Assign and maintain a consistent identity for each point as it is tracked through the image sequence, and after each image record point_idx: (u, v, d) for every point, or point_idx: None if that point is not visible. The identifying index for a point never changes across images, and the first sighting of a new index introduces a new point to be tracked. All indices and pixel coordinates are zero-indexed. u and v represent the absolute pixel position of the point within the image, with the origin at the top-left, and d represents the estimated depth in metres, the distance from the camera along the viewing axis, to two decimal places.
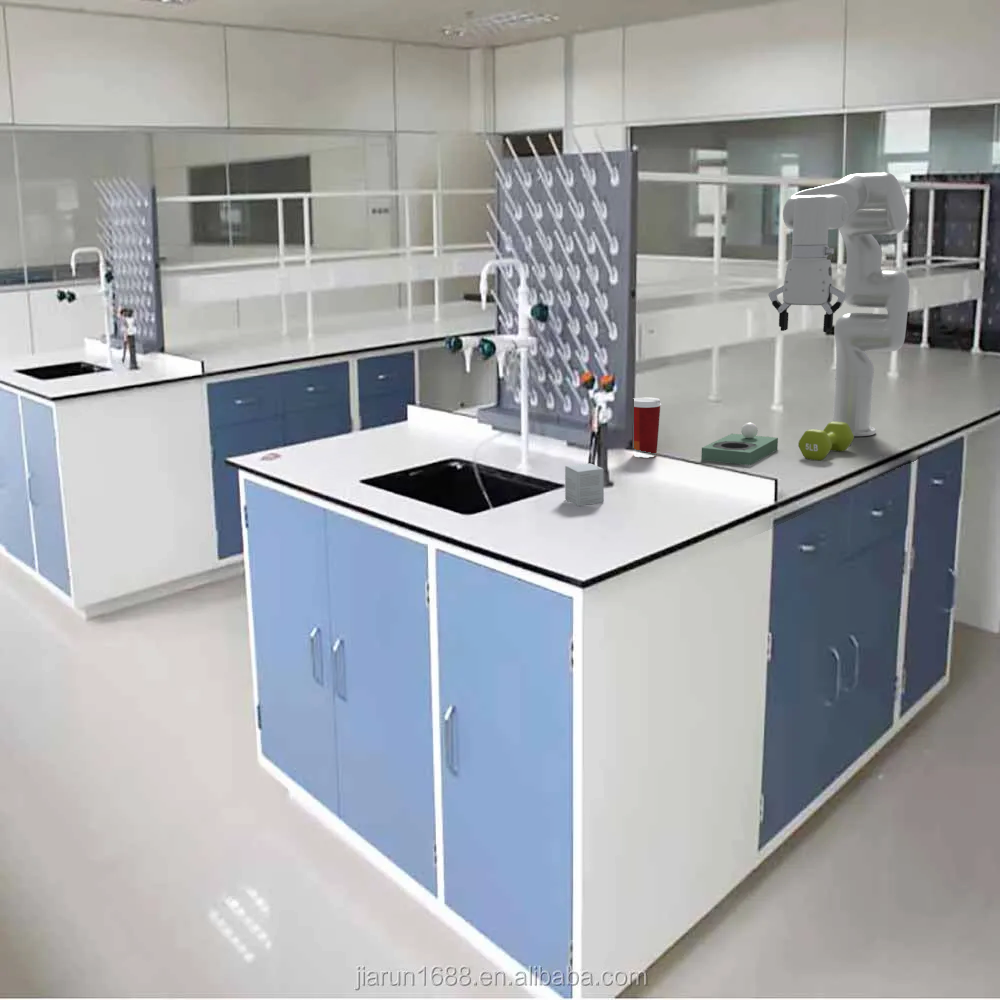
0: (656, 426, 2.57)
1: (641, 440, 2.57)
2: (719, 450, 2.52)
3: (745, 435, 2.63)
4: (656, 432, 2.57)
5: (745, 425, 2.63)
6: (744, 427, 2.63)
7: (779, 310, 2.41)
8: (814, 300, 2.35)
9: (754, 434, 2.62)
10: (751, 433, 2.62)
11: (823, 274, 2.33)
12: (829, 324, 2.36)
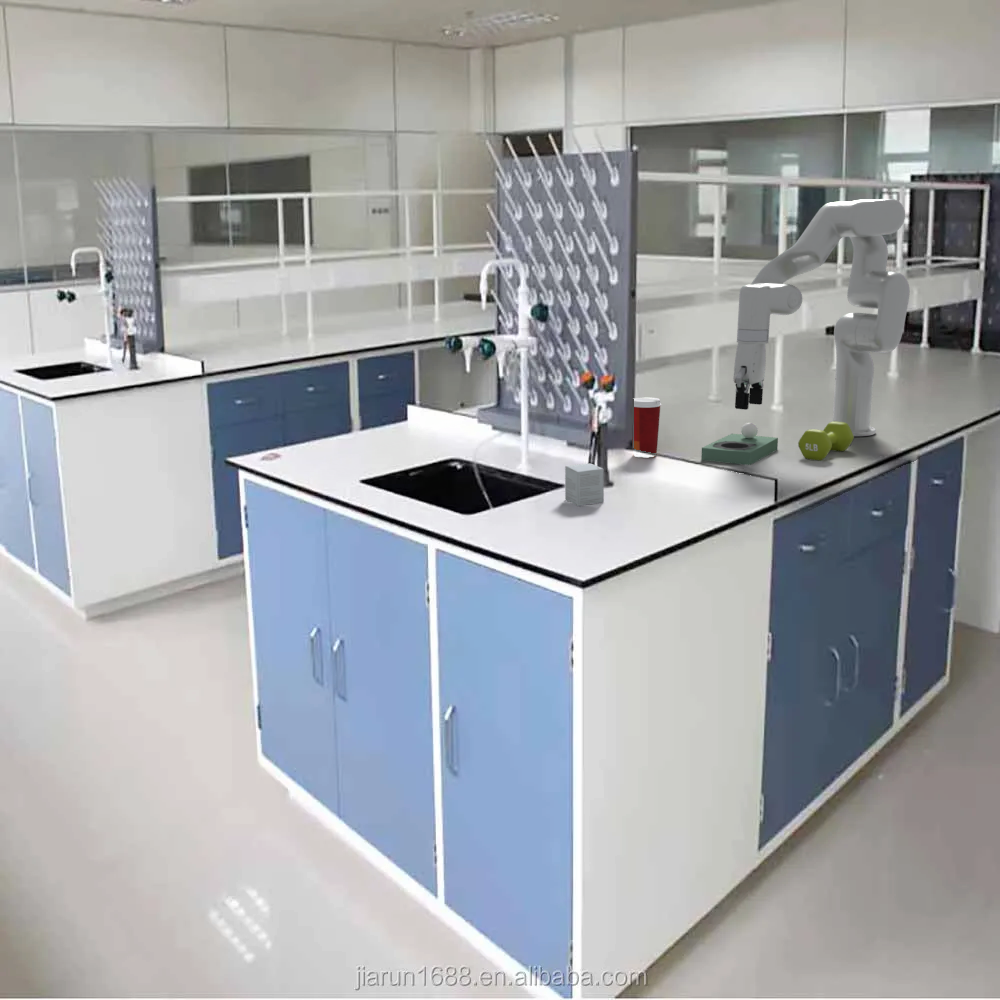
0: (656, 426, 2.57)
1: (641, 440, 2.57)
2: (719, 450, 2.52)
3: (745, 435, 2.63)
4: (656, 432, 2.57)
5: (745, 425, 2.63)
6: (744, 427, 2.63)
7: (746, 391, 2.55)
8: (761, 377, 2.61)
9: (754, 434, 2.62)
10: (751, 433, 2.62)
11: (765, 353, 2.61)
12: None
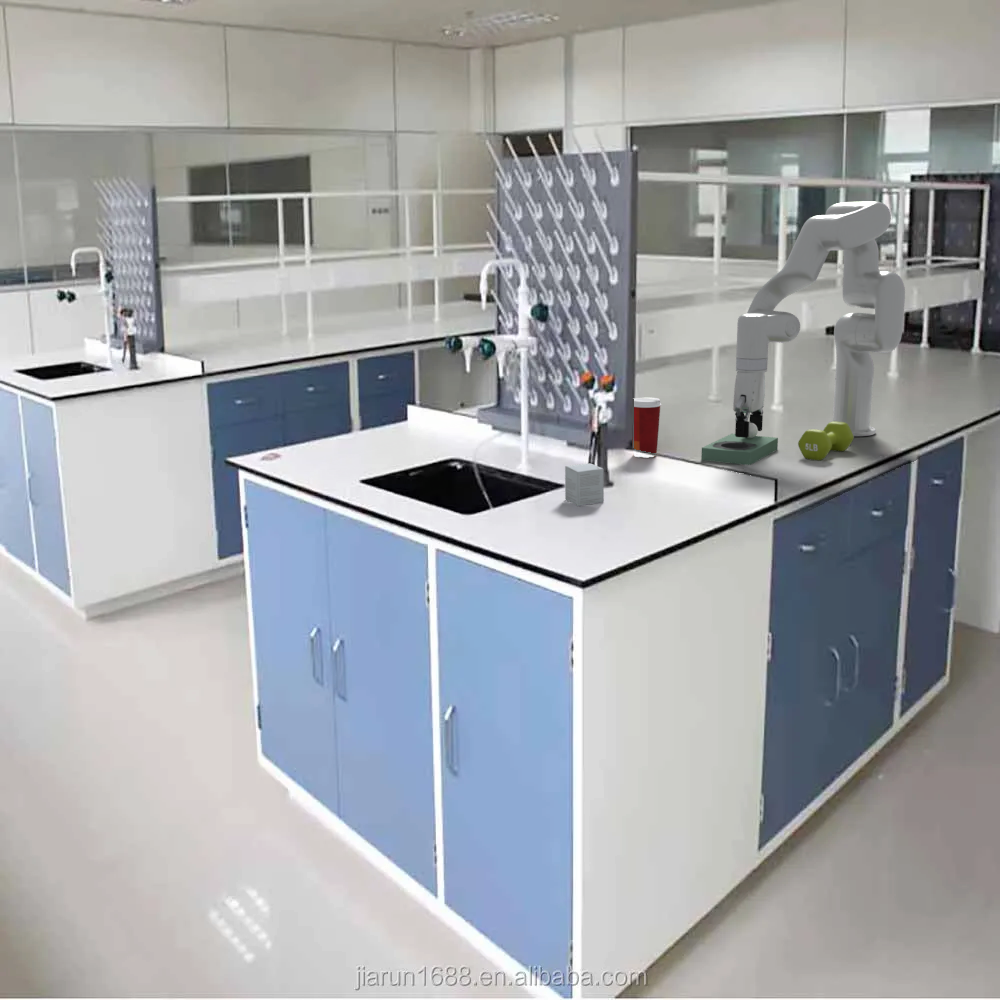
0: (656, 426, 2.57)
1: (641, 440, 2.57)
2: (719, 450, 2.52)
3: None
4: (656, 432, 2.57)
5: None
6: None
7: (746, 419, 2.57)
8: (761, 404, 2.63)
9: (754, 434, 2.62)
10: (751, 433, 2.62)
11: (764, 381, 2.62)
12: None
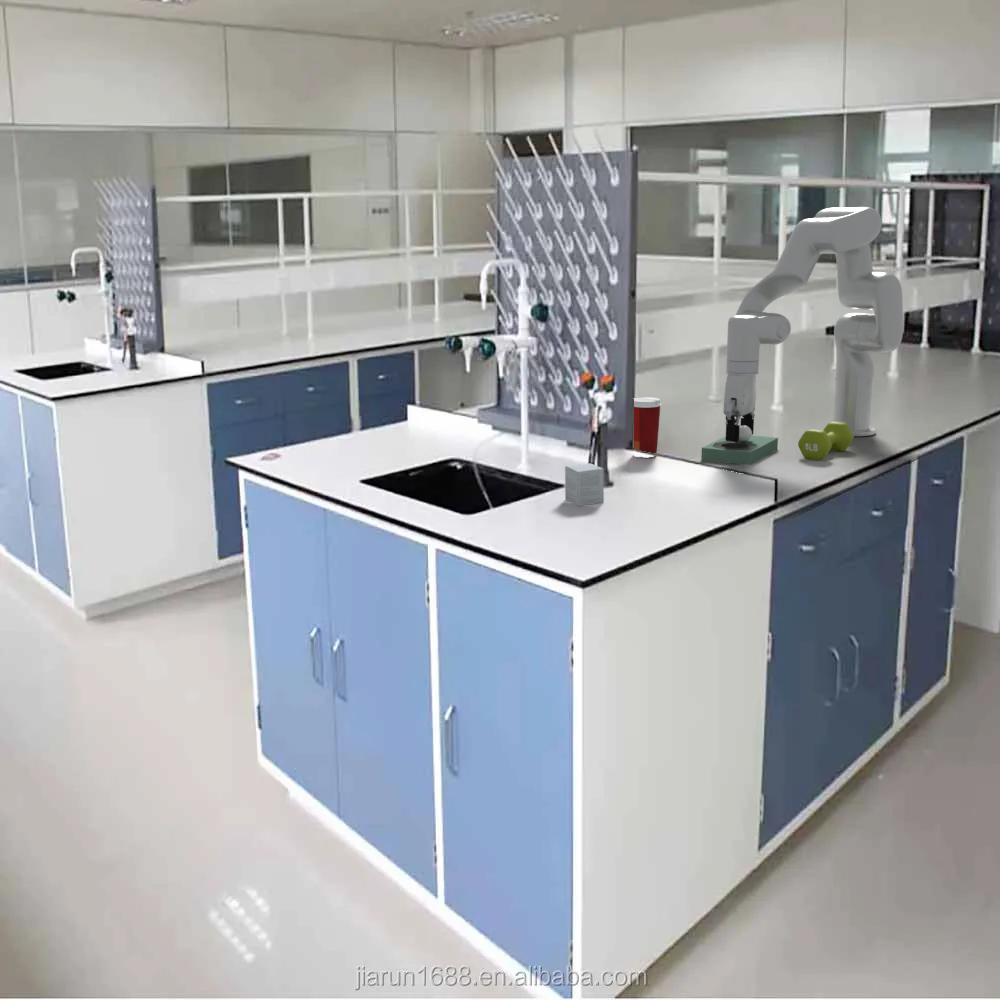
0: (656, 426, 2.57)
1: (641, 440, 2.57)
2: (719, 450, 2.52)
3: None
4: (656, 432, 2.57)
5: (739, 440, 2.60)
6: None
7: (736, 423, 2.52)
8: (752, 408, 2.57)
9: None
10: None
11: (755, 384, 2.57)
12: None
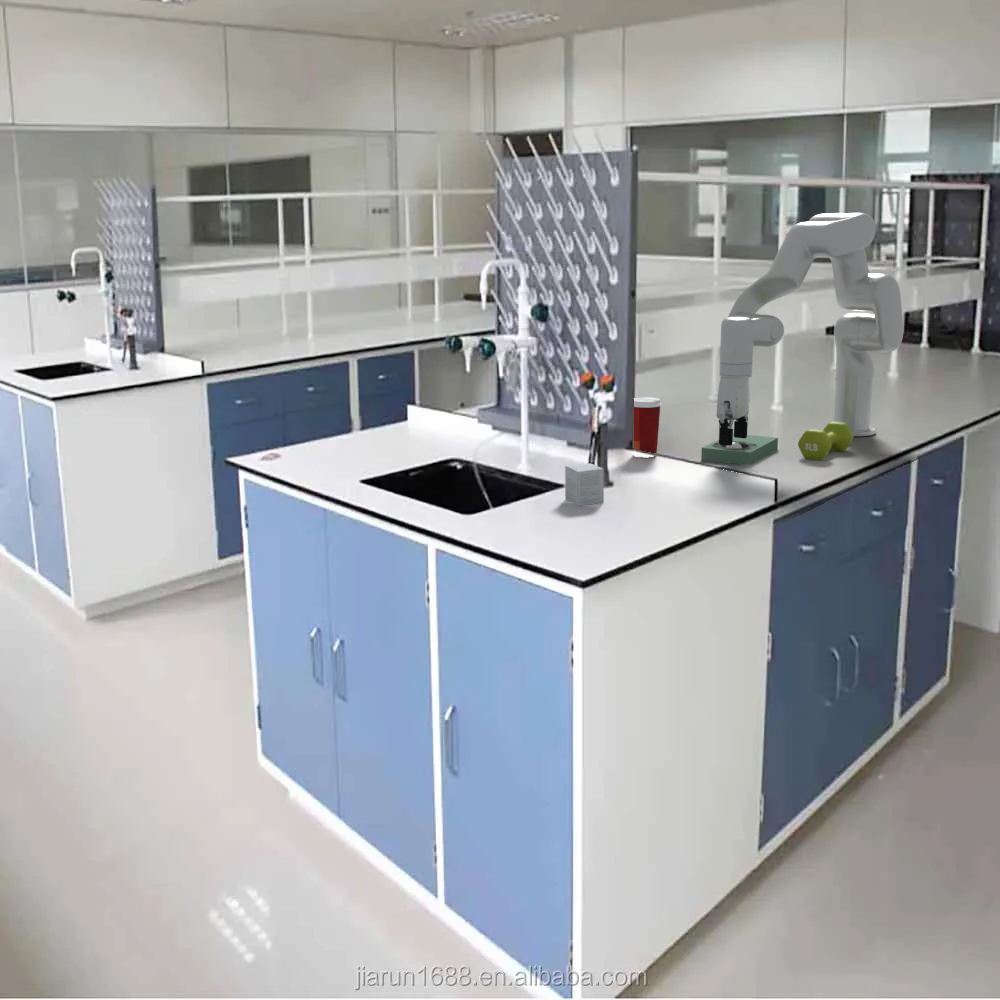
0: (656, 426, 2.57)
1: (641, 440, 2.57)
2: (719, 450, 2.52)
3: None
4: (656, 432, 2.57)
5: None
6: None
7: (729, 427, 2.48)
8: (746, 411, 2.54)
9: None
10: None
11: (749, 386, 2.54)
12: None
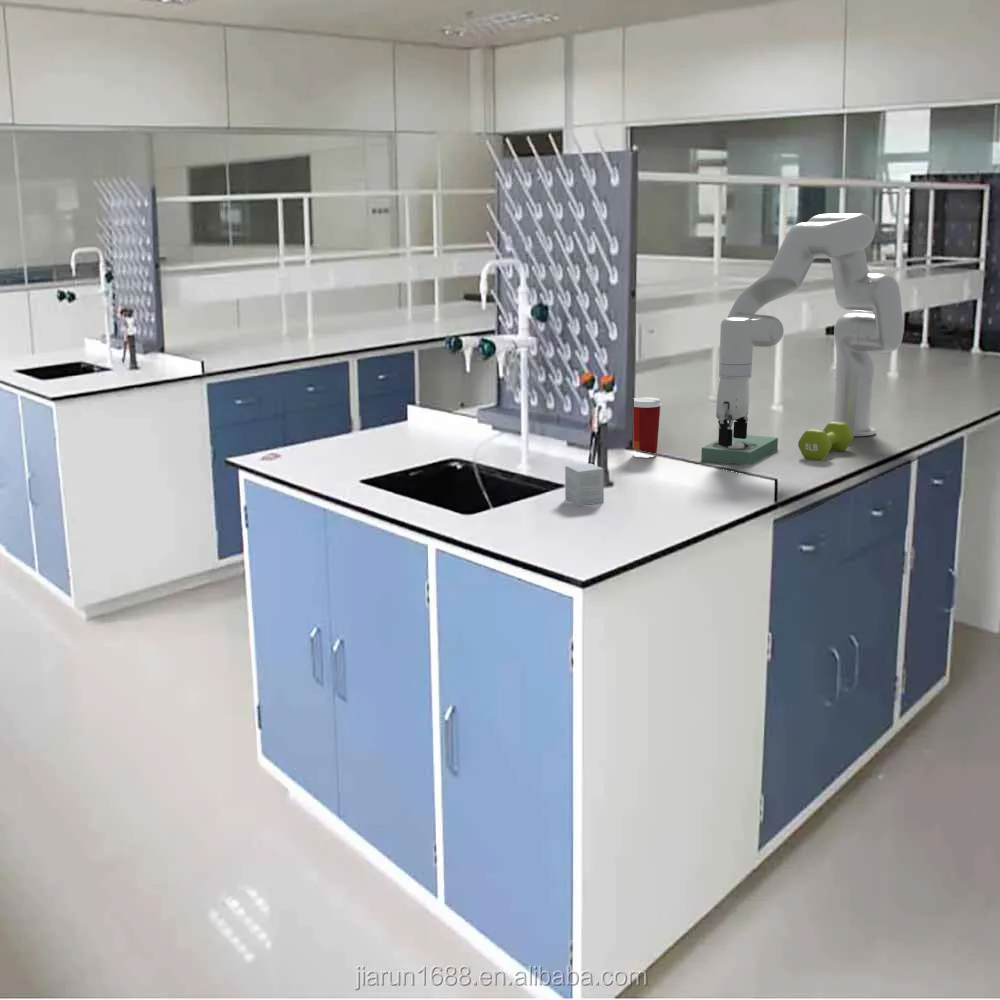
0: (656, 426, 2.57)
1: (641, 440, 2.57)
2: (719, 450, 2.52)
3: (733, 443, 2.56)
4: (656, 432, 2.57)
5: None
6: None
7: (729, 427, 2.48)
8: (745, 411, 2.54)
9: (741, 447, 2.55)
10: (740, 443, 2.56)
11: None
12: None
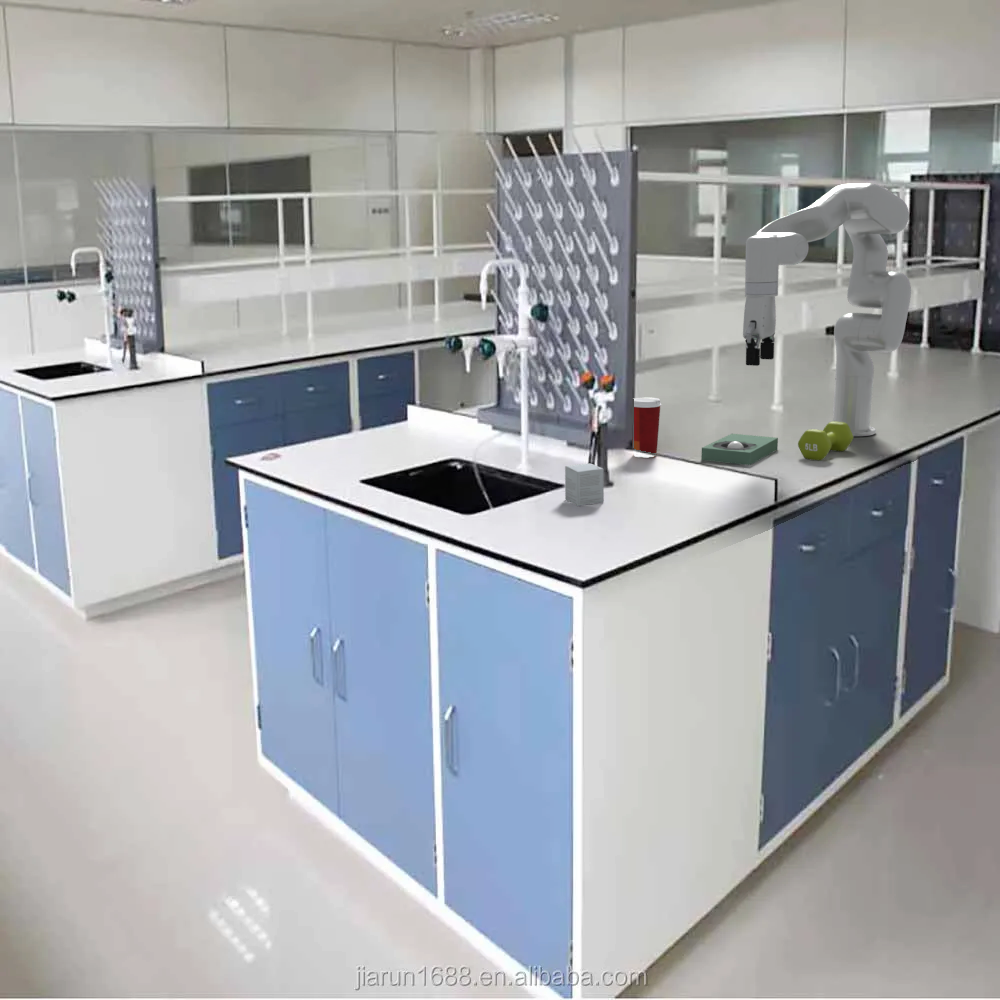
0: (656, 426, 2.57)
1: (641, 440, 2.57)
2: (719, 450, 2.52)
3: (731, 447, 2.55)
4: (656, 432, 2.57)
5: None
6: None
7: (756, 346, 2.47)
8: (772, 331, 2.52)
9: None
10: (738, 445, 2.55)
11: (775, 306, 2.52)
12: None
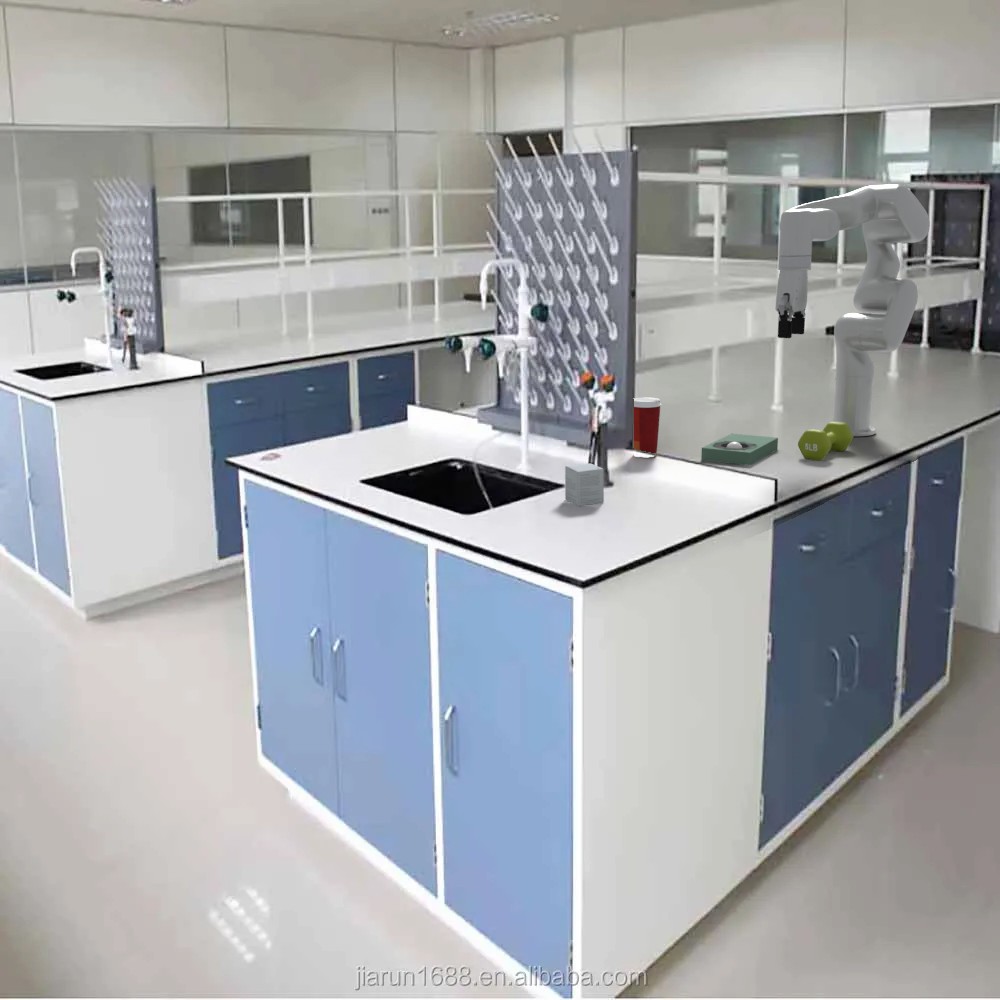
0: (656, 426, 2.57)
1: (641, 440, 2.57)
2: (719, 450, 2.52)
3: None
4: (656, 432, 2.57)
5: (731, 442, 2.56)
6: (730, 443, 2.55)
7: (789, 319, 2.50)
8: (804, 305, 2.56)
9: None
10: None
11: (807, 281, 2.56)
12: None
